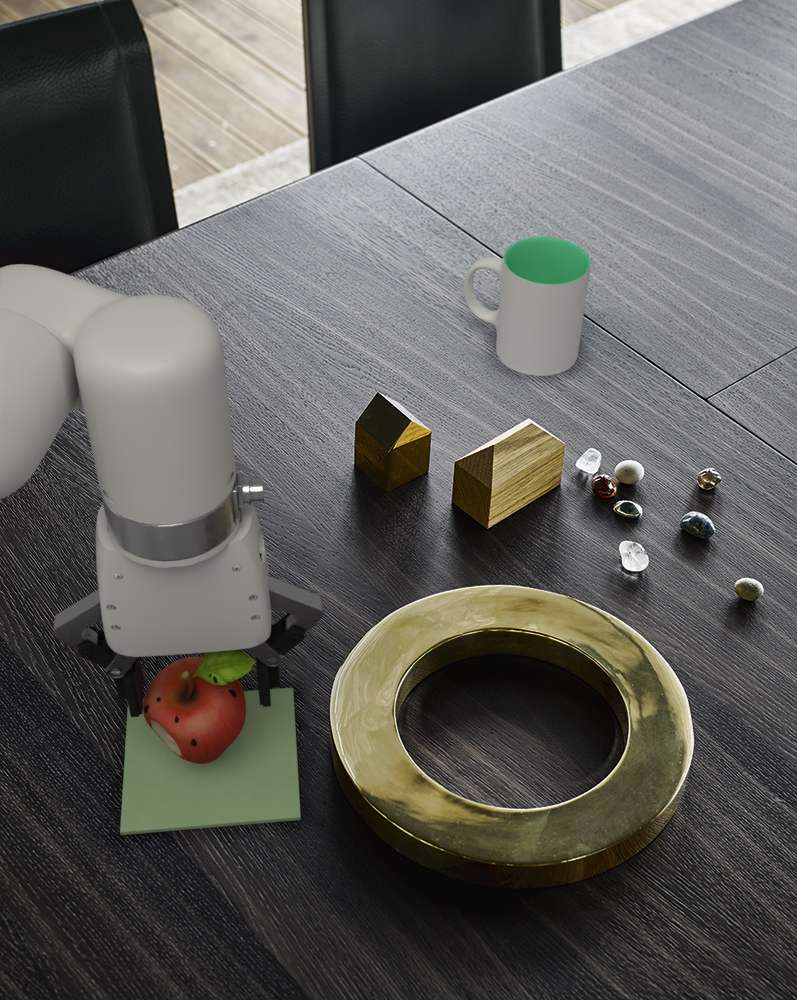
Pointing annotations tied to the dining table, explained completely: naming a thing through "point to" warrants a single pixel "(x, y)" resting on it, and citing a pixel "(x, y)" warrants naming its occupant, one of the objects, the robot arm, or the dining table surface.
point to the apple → (199, 704)
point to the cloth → (214, 775)
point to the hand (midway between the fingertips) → (201, 693)
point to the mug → (536, 303)
